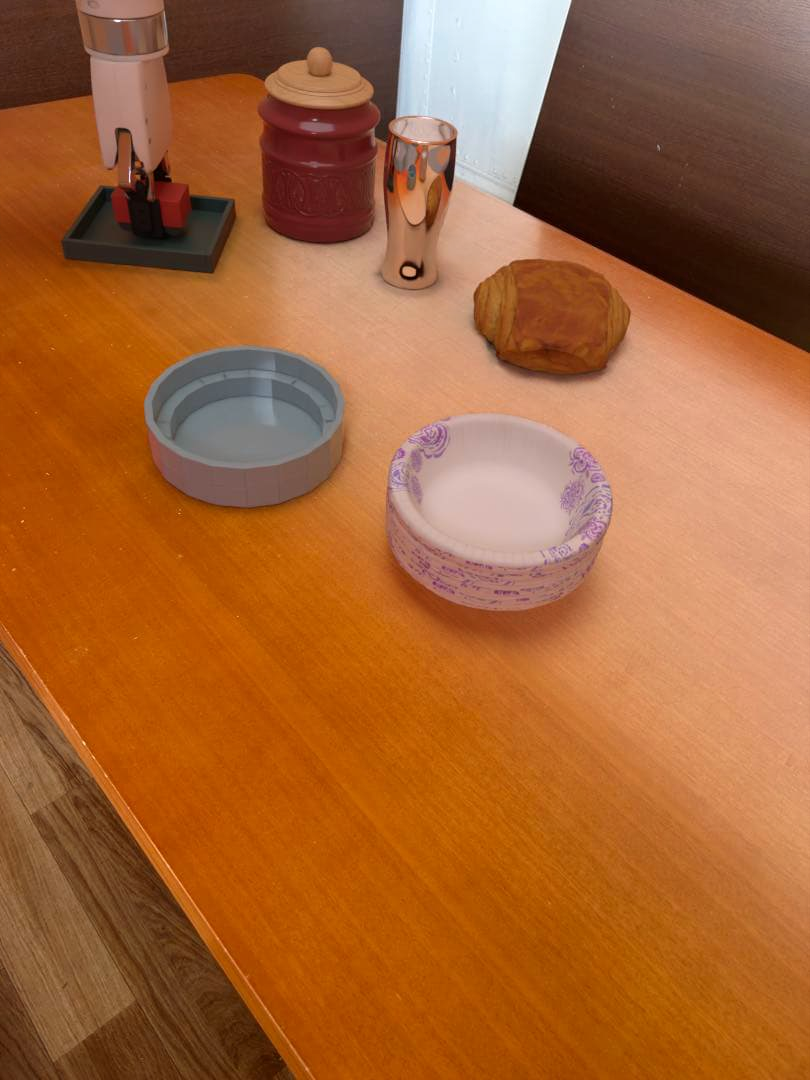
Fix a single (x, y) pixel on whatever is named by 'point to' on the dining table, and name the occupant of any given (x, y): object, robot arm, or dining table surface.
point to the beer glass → (416, 197)
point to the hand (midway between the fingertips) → (154, 222)
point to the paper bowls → (496, 511)
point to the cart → (171, 205)
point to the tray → (186, 251)
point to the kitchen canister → (318, 150)
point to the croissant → (551, 316)
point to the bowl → (245, 425)
